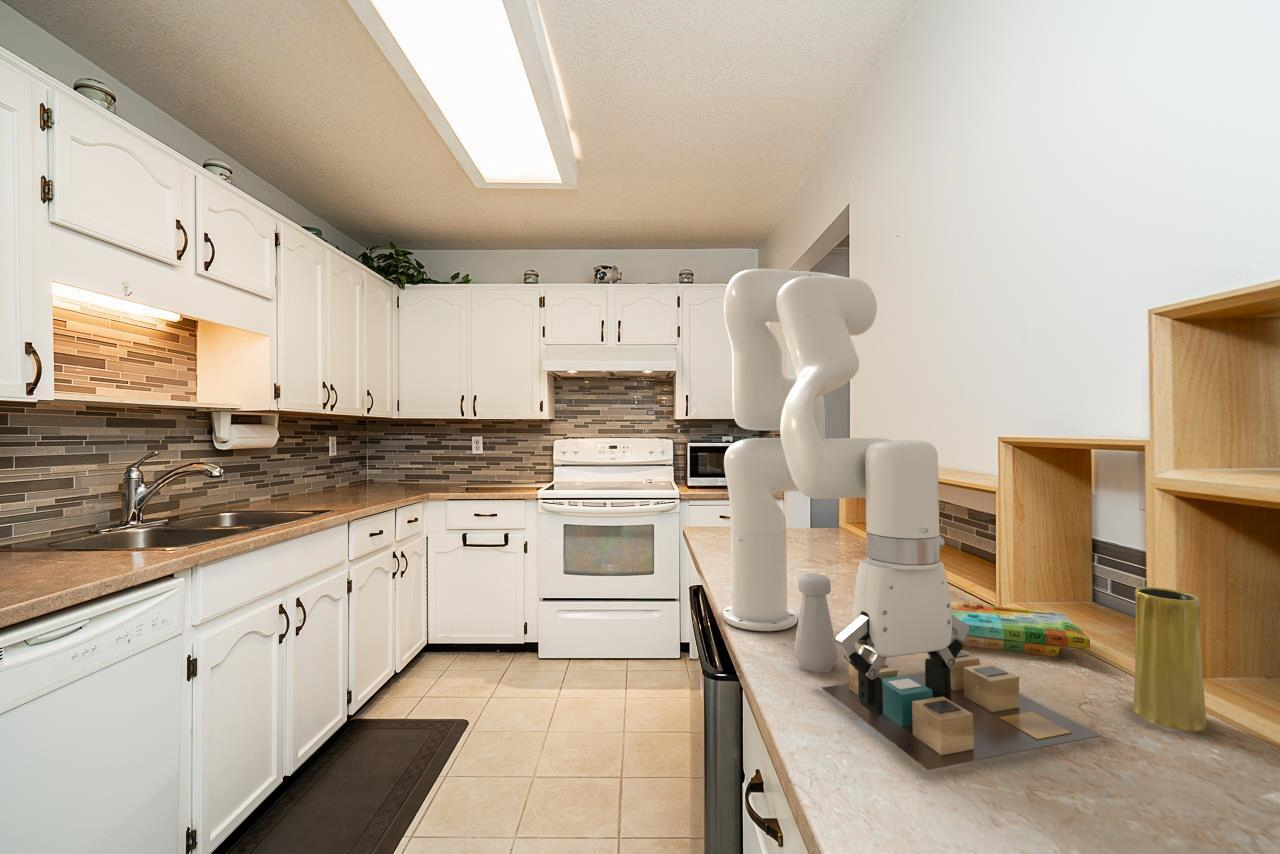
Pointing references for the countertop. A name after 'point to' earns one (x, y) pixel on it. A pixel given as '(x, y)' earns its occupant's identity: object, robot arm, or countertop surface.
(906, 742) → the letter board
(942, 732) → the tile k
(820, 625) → the salt shaker
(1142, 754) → the countertop surface
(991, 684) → the tile
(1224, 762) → the countertop surface
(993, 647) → the puzzle game
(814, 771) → the countertop surface
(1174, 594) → the vase
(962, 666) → the tile
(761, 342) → the robot arm
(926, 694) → the tile
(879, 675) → the light wood cube
